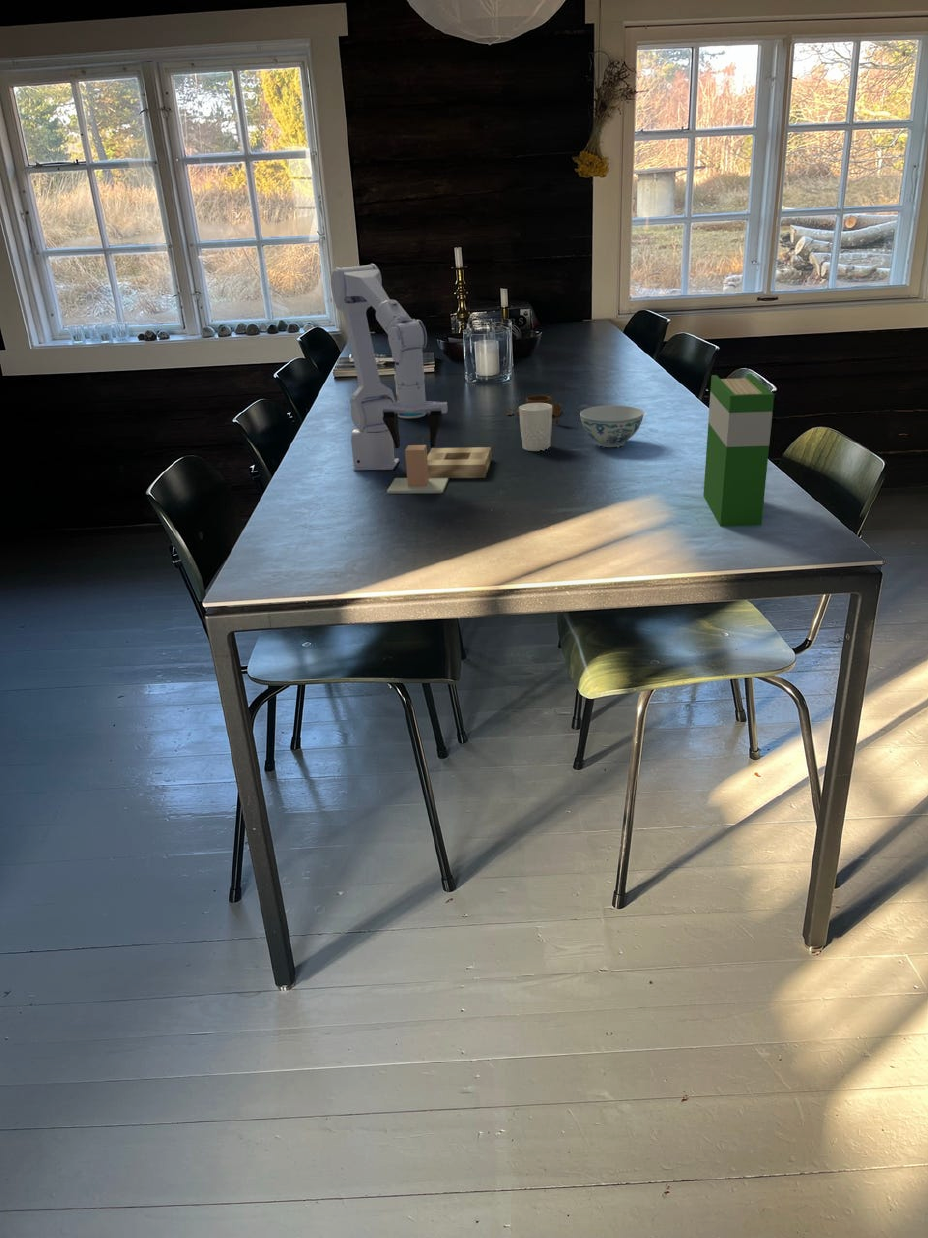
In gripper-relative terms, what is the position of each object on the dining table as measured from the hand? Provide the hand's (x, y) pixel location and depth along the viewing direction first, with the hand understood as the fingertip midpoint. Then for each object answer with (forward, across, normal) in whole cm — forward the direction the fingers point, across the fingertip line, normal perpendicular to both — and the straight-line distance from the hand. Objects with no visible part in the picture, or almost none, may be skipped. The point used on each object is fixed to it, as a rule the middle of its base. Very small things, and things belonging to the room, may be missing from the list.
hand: (415, 446), depth 195 cm
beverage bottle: (+9, -13, +65) cm, 67 cm away
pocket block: (+9, +7, +13) cm, 17 cm away
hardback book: (+9, +64, -16) cm, 67 cm away
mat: (+9, 0, 0) cm, 9 cm away
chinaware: (+9, +42, +32) cm, 54 cm away
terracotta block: (+8, 0, 0) cm, 8 cm away
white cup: (+9, +24, +30) cm, 39 cm away
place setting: (+10, +22, +61) cm, 66 cm away
